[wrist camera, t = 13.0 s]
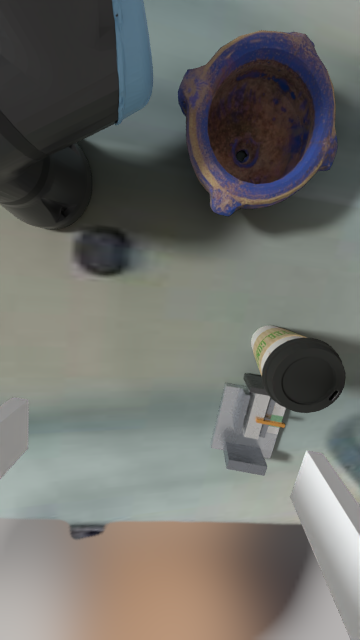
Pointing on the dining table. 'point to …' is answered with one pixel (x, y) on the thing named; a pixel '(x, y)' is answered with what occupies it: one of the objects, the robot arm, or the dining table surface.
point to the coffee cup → (297, 369)
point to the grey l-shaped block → (230, 436)
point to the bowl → (259, 119)
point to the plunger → (256, 408)
